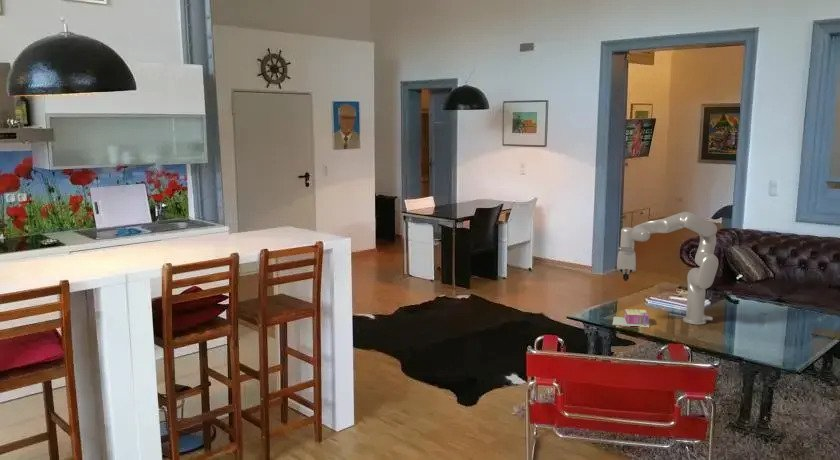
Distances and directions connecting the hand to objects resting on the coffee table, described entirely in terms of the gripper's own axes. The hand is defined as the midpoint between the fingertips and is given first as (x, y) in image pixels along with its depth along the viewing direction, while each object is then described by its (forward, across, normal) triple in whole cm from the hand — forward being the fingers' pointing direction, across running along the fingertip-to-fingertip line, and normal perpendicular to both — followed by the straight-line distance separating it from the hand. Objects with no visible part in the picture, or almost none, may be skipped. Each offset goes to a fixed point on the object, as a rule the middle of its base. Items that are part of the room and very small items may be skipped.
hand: (625, 280), depth 386 cm
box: (+22, +1, 0) cm, 22 cm away
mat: (+25, +4, 0) cm, 25 cm away
